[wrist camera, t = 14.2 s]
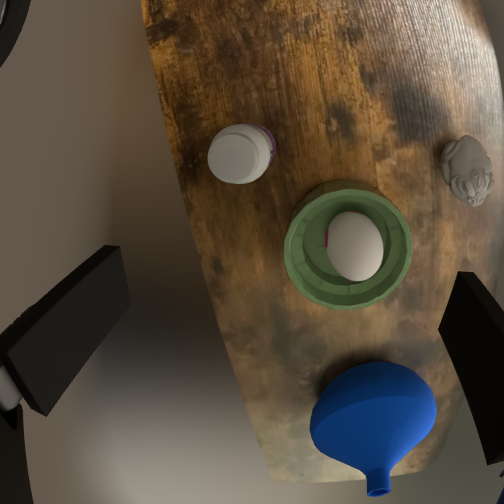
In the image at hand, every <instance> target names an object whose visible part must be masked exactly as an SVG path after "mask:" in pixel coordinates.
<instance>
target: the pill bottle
mask: <svg viewBox="0 0 504 504" xmlns="http://www.w3.org/2000/svg"><path fill="white" fill-rule="evenodd" d="M275 153H276V143H275V139H274V137H273V135H272V134H271V132H270V131H269V130H268V129H266V128H265V127H263V126H261V125H259V124H254V123H244V124H235V125H231V126H228V127H226V128H224V129H223V130H221V131H220V132H219V133H218V134H217V135H216V136H215V137H214V139H213V141H212V143H211V145H210V148H209V151H208V165H209V167H210V170H211V171H212V173H213V174H214V175H215V176H216V177H217V178H218V179H220V180H222V181H224V182H228V183H235V184H245V183H249V182H252V181H254V180H256V179H257V178H259V177H260V176H261V175H262V174H263V173H264V172H265V170H266V169H267V167H268V166H269V165H270V164H271V162H272V161H273V159H274V156H275Z"/></svg>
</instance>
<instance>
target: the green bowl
mask: <svg viewBox="0 0 504 504" xmlns="http://www.w3.org/2000/svg"><path fill="white" fill-rule="evenodd" d="M345 211H356V212H359V213H362V214H364V215H365V216H367V217H368V218H369V219H370V220H371V221H372V222H373V223H374V224H375V226H376V227H377V229H378V231H379V233H380V235H381V238H382V242H383V258H382V262H381V265H380V267H379V269H378V270H377V272H376V273H375V274H374V275H373V276H372V277H370V278H369V279H366V280H363V281H352V280H349V279H347V278H345V277H343V276H342V275H340V274H339V273H338V272H337V271H336V270H335V268H334V267H333V265H332V264H331V262H330V260H329V258H328V255H327V251H326V246H324V245H326V244H325V239H326V232H327V229H328V226H329V224H330V222H331V221H332V220H333V219H334V217H336V216H337V215H338V214H340V213H342V212H345ZM320 246H323V247H320ZM317 247H318V248H317ZM411 255H412V240H411V232H410V229H409V227H408V225H407V223H406V221H405V219H404V216H403V214H402V213H401V212H400V211H399V209H398V208H397V207H396V206H395V205H394V204H393V203H392V201H391V200H390V199H388V198H387V197H386V196H385V195H384V194H383V193H382V192H381V191H380V190H379V189H377V188H375V187H373V186H371V185H369V184H366V183H364V182H361V181H354V180H343V179H342V180H337V181H333V182H329V183H324V184H322V185H320V186H318V187H317V188H315V189H314V190H312V191H310V192H309V193H307V194H306V195H305V196H304V197H303V198H302V200H301V201H300V202H299V203H298V204H297V205H296V207H295V208H294V210H293V212H292V215H291V217H290V220H289V222H288V225H287V230H286V234H285V239H284V256H283V259H284V263H285V266H286V270H287V273H288V276H289V278H290V280H291V281H292V282H293V284H294V285H295V286H296V288H297V289H298V291H299V292H300V293H301V294H303V295H304V296H305V297H307V298H308V299H310V300H311V301H312V302H314V303H316V304H319V305H321V306H324V307H327V308H330V309H338V310H354V309H359V308H363V307H368V306H370V305H372V304H374V303H376V302H378V301H380V300H382V299H384V298H385V297H387V296H388V295H389V294H390V293H391V292H392V291H393V290H394V289H395V288H396V287H397V286H398V285H399V284H400V282H401V281H402V279H403V277H404V276H405V274H406V272H407V270H408V268H409V264H410V260H411ZM350 282H351V283H350Z"/></svg>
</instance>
